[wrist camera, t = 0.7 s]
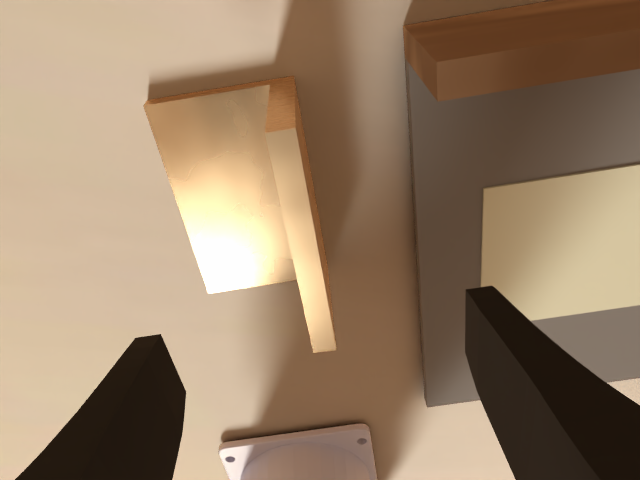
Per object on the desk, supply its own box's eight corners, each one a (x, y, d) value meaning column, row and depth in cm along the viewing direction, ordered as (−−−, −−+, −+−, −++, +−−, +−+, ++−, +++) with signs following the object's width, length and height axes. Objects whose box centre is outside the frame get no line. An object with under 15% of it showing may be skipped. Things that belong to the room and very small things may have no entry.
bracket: (327, 263, 22) (336, 350, 18) (210, 281, 22) (192, 370, 18) (293, 73, 17) (295, 128, 13) (148, 97, 18) (105, 159, 13)
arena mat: (746, 353, 26) (756, 363, 25) (424, 397, 26) (427, 409, 26) (922, -63, 16) (947, -61, 15) (402, 25, 17) (407, 30, 16)
